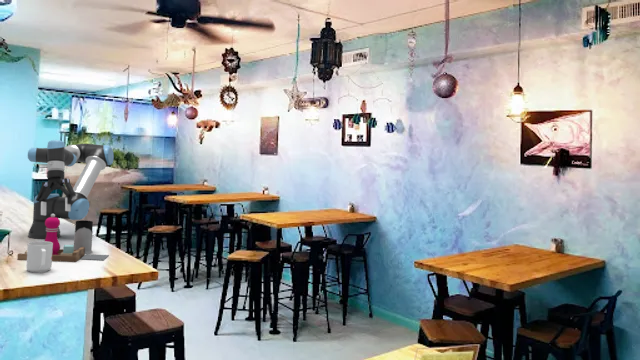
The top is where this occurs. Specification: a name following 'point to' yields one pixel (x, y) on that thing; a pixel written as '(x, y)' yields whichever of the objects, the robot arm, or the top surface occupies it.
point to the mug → (39, 256)
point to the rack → (61, 256)
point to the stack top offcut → (68, 249)
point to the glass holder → (83, 235)
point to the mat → (94, 257)
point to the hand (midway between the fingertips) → (55, 213)
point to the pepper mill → (52, 232)
